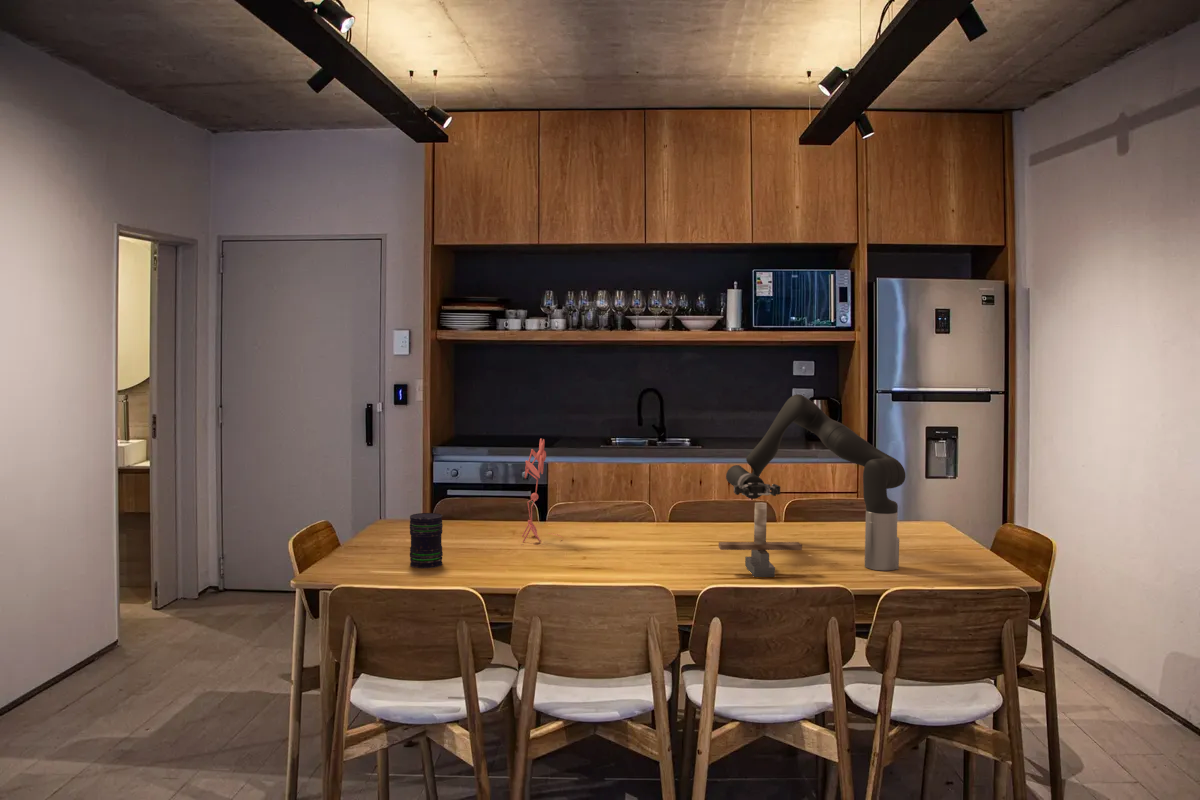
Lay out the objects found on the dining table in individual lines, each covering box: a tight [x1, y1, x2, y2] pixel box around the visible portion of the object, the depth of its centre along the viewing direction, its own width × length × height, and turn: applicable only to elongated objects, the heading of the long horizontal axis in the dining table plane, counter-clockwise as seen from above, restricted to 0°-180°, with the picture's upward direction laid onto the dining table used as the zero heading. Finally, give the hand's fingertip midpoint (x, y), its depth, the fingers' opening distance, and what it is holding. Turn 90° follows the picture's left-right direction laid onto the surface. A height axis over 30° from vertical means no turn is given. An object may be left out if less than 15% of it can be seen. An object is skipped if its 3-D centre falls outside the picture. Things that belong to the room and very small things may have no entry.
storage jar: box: [409, 512, 444, 569], centre depth 280 cm, size 10×10×15 cm
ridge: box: [744, 550, 776, 578], centre depth 273 cm, size 6×14×7 cm, turn 2°
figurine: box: [520, 438, 562, 546], centre depth 317 cm, size 15×26×35 cm, turn 6°
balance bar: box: [718, 501, 803, 551], centre depth 273 cm, size 24×4×14 cm, turn 91°
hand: (761, 492), depth 287 cm, fingers open, 8 cm apart
